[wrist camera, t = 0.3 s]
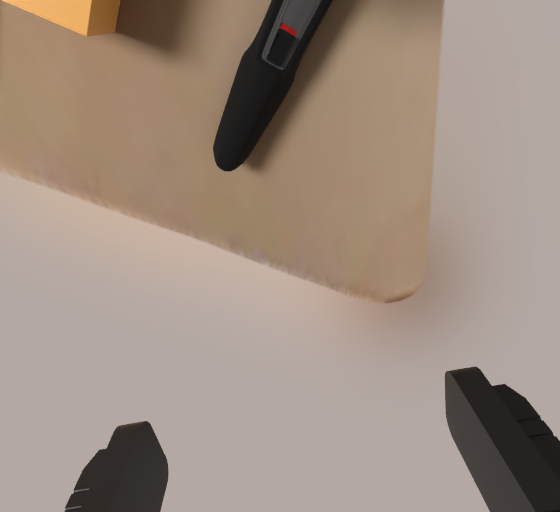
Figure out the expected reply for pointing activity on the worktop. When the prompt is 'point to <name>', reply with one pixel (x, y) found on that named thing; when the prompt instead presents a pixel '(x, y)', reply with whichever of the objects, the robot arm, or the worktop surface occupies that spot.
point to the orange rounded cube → (76, 13)
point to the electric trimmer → (265, 77)
